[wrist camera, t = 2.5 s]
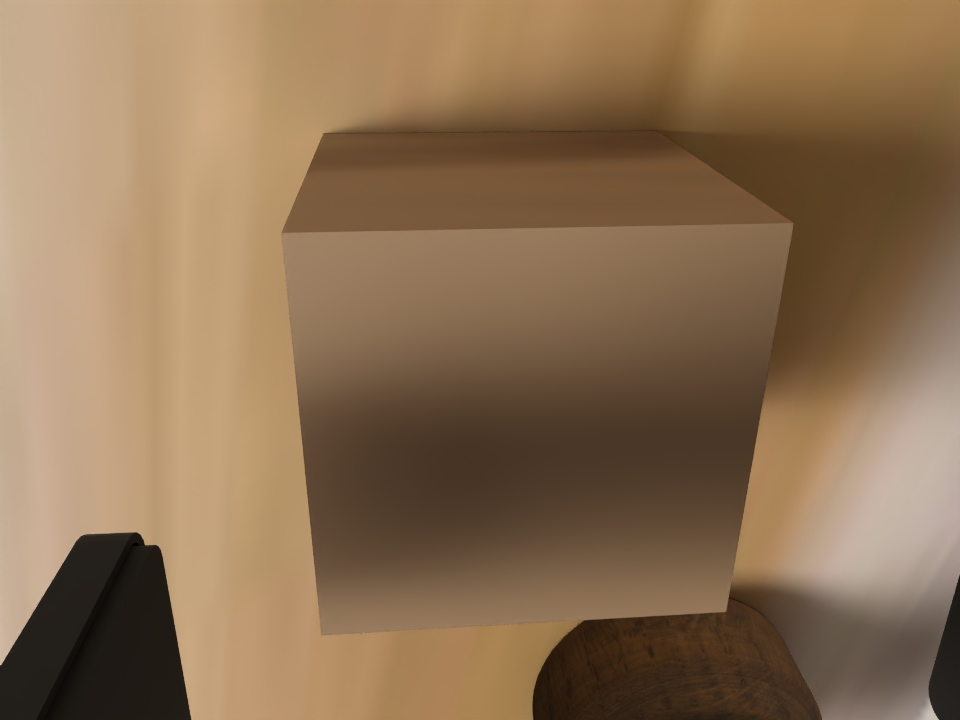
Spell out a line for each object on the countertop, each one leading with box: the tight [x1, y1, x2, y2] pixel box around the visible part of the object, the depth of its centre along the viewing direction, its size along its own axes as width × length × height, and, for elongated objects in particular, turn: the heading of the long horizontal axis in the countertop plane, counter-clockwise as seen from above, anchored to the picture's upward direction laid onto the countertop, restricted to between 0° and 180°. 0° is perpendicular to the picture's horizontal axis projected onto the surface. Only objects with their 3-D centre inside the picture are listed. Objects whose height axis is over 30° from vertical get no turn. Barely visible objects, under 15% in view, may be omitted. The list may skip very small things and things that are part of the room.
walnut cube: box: [282, 130, 794, 635], centre depth 14 cm, size 6×6×6 cm
